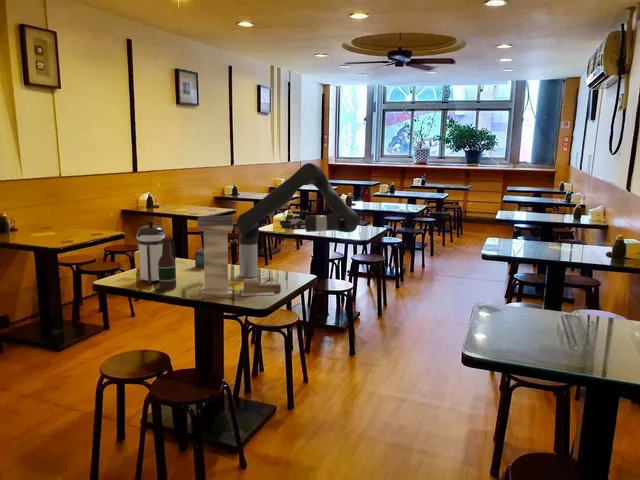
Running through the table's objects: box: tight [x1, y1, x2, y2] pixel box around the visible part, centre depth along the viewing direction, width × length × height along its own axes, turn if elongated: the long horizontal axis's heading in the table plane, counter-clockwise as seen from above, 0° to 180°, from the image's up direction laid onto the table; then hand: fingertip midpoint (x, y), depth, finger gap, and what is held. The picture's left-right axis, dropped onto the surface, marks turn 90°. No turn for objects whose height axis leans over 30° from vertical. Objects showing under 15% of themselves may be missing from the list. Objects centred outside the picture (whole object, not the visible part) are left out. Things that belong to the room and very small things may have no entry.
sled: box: [243, 278, 282, 293], centre depth 230 cm, size 6×17×5 cm, turn 98°
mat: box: [240, 287, 276, 297], centre depth 229 cm, size 11×15×1 cm
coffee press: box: [135, 220, 176, 286], centre depth 243 cm, size 17×16×30 cm
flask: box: [194, 248, 204, 269], centre depth 272 cm, size 9×3×11 cm, turn 63°
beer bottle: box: [158, 237, 177, 291], centre depth 230 cm, size 8×8×24 cm
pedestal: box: [196, 215, 234, 299], centre depth 223 cm, size 14×15×35 cm
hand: (280, 224), depth 225 cm, fingers open, 8 cm apart
